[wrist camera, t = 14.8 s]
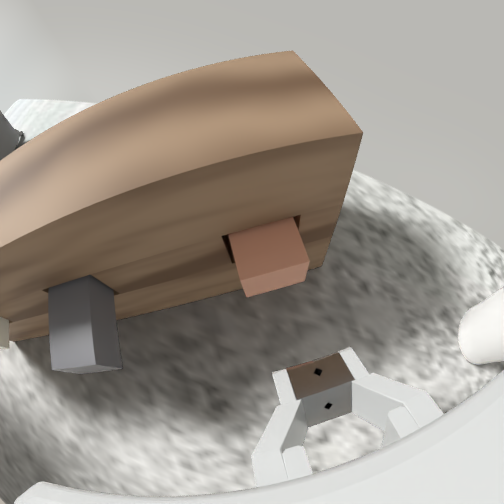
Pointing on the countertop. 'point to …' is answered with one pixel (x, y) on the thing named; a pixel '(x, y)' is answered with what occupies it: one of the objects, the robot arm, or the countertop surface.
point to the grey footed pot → (7, 137)
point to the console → (172, 186)
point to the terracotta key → (269, 256)
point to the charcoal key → (83, 327)
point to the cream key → (4, 333)
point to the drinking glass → (483, 330)
